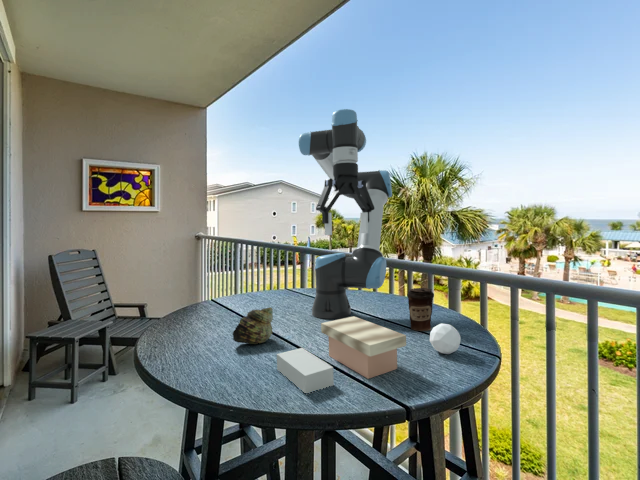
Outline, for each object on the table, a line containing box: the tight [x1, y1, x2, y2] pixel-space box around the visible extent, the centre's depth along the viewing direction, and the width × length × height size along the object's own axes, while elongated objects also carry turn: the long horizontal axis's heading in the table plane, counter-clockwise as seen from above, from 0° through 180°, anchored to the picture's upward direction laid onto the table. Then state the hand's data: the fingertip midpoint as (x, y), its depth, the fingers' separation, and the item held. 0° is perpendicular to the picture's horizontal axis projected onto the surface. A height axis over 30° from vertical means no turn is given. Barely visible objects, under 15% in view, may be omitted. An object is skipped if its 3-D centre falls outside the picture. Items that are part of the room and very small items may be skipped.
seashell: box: [232, 307, 274, 345], centre depth 101 cm, size 11×11×10 cm
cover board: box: [320, 315, 407, 357], centre depth 84 cm, size 20×11×2 cm, turn 32°
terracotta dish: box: [328, 336, 398, 380], centre depth 84 cm, size 16×9×6 cm, turn 32°
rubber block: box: [276, 347, 335, 394], centre depth 77 cm, size 14×7×4 cm, turn 32°
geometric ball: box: [429, 323, 461, 355], centre depth 89 cm, size 8×8×8 cm
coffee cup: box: [407, 287, 435, 332], centre depth 108 cm, size 9×8×13 cm
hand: (347, 234), depth 102 cm, fingers open, 13 cm apart
